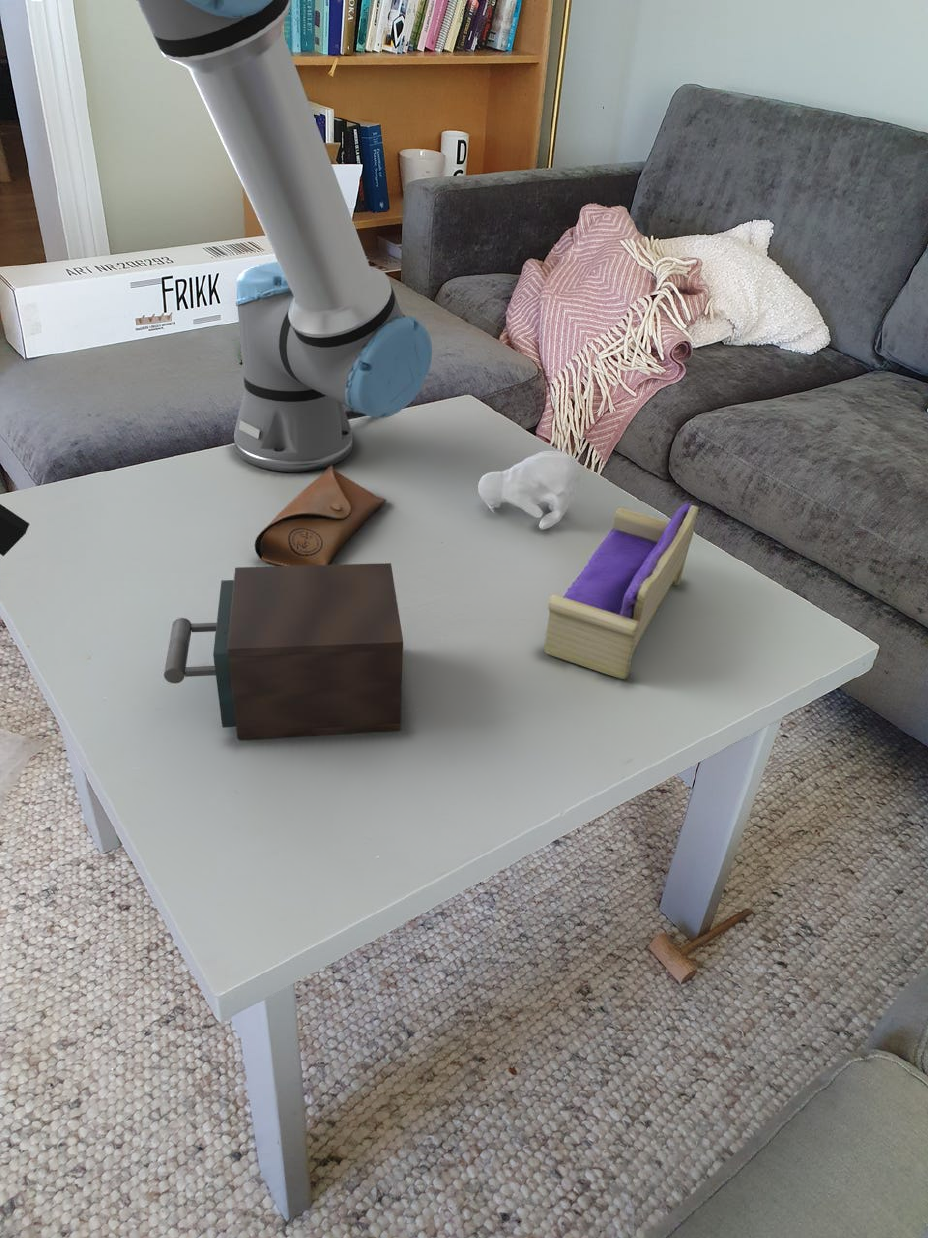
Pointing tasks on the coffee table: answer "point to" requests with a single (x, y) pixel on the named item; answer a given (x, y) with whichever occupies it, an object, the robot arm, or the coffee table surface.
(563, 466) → the white figurine
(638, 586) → the toy sofa
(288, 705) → the cabinet
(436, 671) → the coffee table surface
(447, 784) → the coffee table surface
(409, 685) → the coffee table surface
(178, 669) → the drawer
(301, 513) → the sunglasses case
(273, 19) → the robot arm
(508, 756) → the coffee table surface
